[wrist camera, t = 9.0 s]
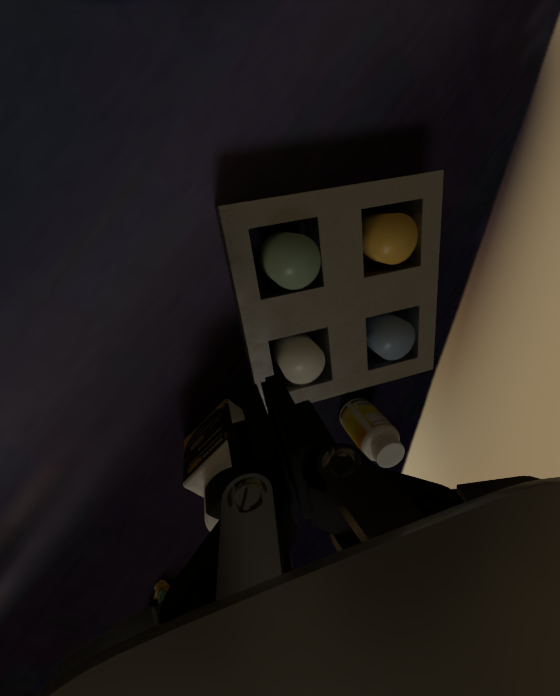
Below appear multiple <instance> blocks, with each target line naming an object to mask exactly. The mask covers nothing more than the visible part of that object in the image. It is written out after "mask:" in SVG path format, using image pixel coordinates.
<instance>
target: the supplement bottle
mask: <svg viewBox="0 0 560 696" xmlns="http://www.w3.org/2000/svg"><path fill="white" fill-rule="evenodd" d="M339 419H340V422H341V424H342V426H343V427H344V429H345V430H346V431H347V433H348V434H349V435H350V437H351V438H352V440H353V441H354V442H355V444H356V445H357V446H358V448H359V449H360V450H361V451H362V452H363V453H364V454H365V455H366V456H367V457H368V458H369V459H370V460H372V461H376V462H377V463H378V465H379V466H381V467H384V468H389V467H392V466H394V465H396V464H398V463H399V462H400V461H401V459H402V458H403V456H404V453H405V450H404V447H403V445H402V444H401V443H400V436H399V433H398V431H397V430H396V429H395V428H394V427H393V426H392V424H391V423H390V422H389V421H388V420H387V419H386V418H385V417H384V416H383V415H382V414H381V413H380V412H379V411H378V410H377V409H376V408H375V407H374V406H373V405H372V404H371V403H370V402H369V401H368V400H366V399H363V398H356V399H353V400H350V401H349V402H347V403H346V404H345V405H344V406H343V408H342V409H341V411H340V415H339Z"/></svg>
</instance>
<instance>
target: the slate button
mask: <svg viewBox="0 0 560 696" xmlns="http://www.w3.org/2000/svg"><path fill="white" fill-rule="evenodd" d="M366 339H367V347H369V348H370V349H372V350H373V351H374V352H376V353H377V354H378V355H380V356H381V357H382V358H384V359H386V360H397V359H399V358H401V357H403V356H404V355H406V354H407V353H408V352H409V351H410V349H411V348H412V346H413V344H414V340H415V331H414V328H413V326H412V325H411V324H410V323H409V322H407V321H405V320H403V319H401V318H399V317H397V316H395V315H393V314H391V313H385V314H381V315H377V316H372V317H368V318H366Z"/></svg>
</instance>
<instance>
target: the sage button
mask: <svg viewBox="0 0 560 696" xmlns="http://www.w3.org/2000/svg"><path fill="white" fill-rule="evenodd" d="M259 262H260V265H261V268H262V270H263V271H264V273H265V274H266V275H267V276H268V277H270V278H271V279H272V280H273V281H275V282H276V283H277V284H279V285H280V286H282V287H284V288H286V289H291V290H296V289H301V288H303V287H305V286H307V285H309V284H310V283H311V282H312V281H313V280H314V279H315V277H316V276H317V274H318V272H319V269H320V264H321V257H320V252H319V249H318V247H317V245H316V244H315V243H314V241H313V240H312V239H310V238H309V237H307V236H305V235H302V234H297V233H291V232H283V231H282V232H276V233H274V234H272V235H270V236H269V237H268V238H267V239H266V240H265V241H264V242H263V244H262V246H261V248H260V252H259Z"/></svg>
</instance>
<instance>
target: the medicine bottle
mask: <svg viewBox="0 0 560 696" xmlns="http://www.w3.org/2000/svg"><path fill="white" fill-rule="evenodd" d="M242 420H245V418H244V414H243V410H242V409H241V408H240V407H238V406H237V405H236V404H234V403H233V402H231V401H230V400H229V399H225V400H224V401H223V402H222V403H221V404H220V405H219V406H218V407H217V408H216V409H215V410H214V411H213V412H212V413H211V414H210V415H209V416H208V417H207V418H206V419H205V420H204V421H203V422H202V423H201V424H200V425H199V426H198V427H197V428H196V429H195V430H194V431H193V432H192V433H191V434H190V435H189V436H188V437H187V438H186V439H185V441H184V468H183V486H184V487H185V488H187V489H189V490H191V491H192V492H194V493H196V494H198V495H200V496H202V497H204V510H205V524H206V526H207V528H208V530H209V531H210V532H211V530H212V529H213V527H214V526H215V525H216V523H217V522H218V521H219V519H220V518H221V502H222V496H223V492H224V491H225V489H226V487H227V486H228V485H229V484H230V483H231V482H232V481H233V480H234V476H233V470H232V464H231V458H230V452H229V446H228V440H227V435H226V428H225V426H226V425H229V424H233V423H236V422H239V421H242Z"/></svg>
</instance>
